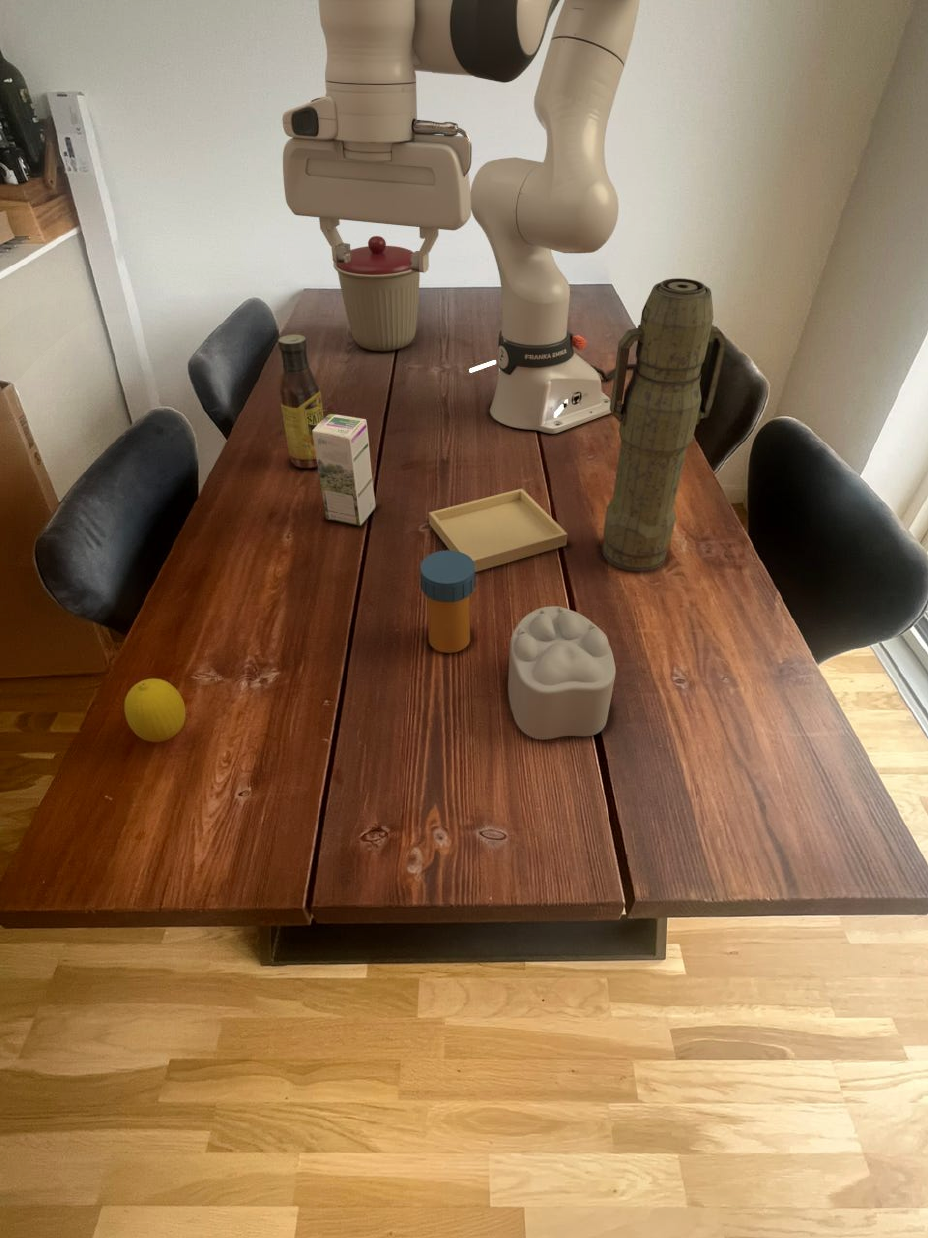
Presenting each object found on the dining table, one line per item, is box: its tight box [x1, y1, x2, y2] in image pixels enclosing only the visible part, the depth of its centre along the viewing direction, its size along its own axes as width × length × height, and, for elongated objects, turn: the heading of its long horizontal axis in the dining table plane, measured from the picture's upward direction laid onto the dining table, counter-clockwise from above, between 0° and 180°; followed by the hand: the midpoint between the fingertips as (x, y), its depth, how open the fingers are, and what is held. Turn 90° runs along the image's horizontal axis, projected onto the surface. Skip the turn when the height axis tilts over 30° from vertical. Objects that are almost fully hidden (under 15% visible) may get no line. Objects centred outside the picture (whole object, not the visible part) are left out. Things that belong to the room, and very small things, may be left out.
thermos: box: [602, 277, 728, 573], centre depth 89 cm, size 9×12×35 cm
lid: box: [419, 549, 476, 602], centre depth 81 cm, size 6×6×3 cm
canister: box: [332, 235, 421, 352], centre depth 152 cm, size 18×18×21 cm
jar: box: [425, 594, 471, 654], centre depth 84 cm, size 5×5×10 cm
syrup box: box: [312, 413, 377, 527], centre depth 103 cm, size 6×6×14 cm
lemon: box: [123, 678, 187, 743], centre depth 74 cm, size 6×6×8 cm
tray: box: [428, 488, 568, 573], centre depth 103 cm, size 15×13×2 cm
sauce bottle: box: [277, 334, 325, 470], centre depth 114 cm, size 7×6×20 cm
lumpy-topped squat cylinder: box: [507, 605, 617, 741], centre depth 78 cm, size 10×13×9 cm
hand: (380, 266), depth 82 cm, fingers open, 8 cm apart
